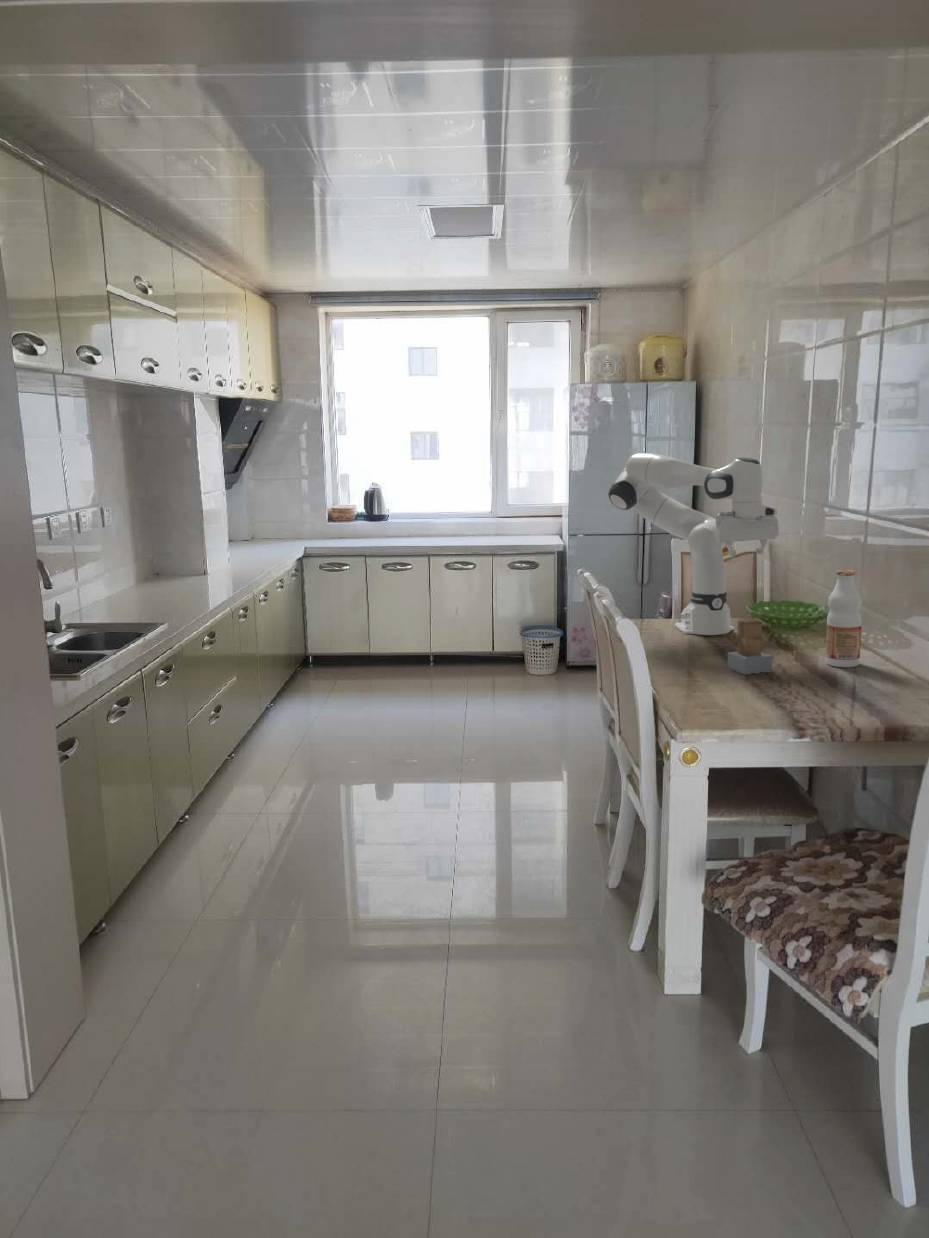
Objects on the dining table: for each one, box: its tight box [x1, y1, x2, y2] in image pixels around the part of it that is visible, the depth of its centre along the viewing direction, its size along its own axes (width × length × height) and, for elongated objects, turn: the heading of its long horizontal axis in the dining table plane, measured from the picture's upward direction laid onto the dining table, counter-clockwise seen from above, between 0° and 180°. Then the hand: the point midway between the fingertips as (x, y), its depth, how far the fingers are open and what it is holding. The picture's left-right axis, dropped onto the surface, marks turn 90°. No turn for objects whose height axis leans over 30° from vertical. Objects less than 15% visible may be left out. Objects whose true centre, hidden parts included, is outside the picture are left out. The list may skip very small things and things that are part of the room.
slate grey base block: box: [727, 651, 773, 676], centre depth 266 cm, size 9×9×5 cm
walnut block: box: [737, 618, 763, 657], centre depth 265 cm, size 5×5×10 cm
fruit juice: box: [825, 569, 863, 668], centre depth 266 cm, size 9×9×28 cm
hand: (746, 555), depth 283 cm, fingers open, 8 cm apart
